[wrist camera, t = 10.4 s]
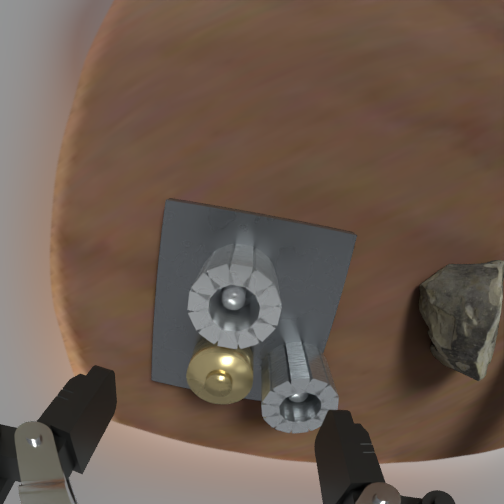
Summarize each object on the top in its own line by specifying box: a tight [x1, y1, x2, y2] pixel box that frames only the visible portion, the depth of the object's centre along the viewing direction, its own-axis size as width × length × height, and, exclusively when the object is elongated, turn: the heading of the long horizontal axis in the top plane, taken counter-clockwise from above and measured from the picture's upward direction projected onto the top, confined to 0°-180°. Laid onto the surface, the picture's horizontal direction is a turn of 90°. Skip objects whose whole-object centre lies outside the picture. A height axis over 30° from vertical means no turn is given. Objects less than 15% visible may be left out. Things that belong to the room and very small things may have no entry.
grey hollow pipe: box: [261, 341, 339, 433], centre depth 23 cm, size 6×6×5 cm
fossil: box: [419, 260, 504, 381], centre depth 23 cm, size 11×9×10 cm
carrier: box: [152, 198, 357, 404], centre depth 23 cm, size 14×16×5 cm
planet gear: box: [187, 243, 282, 349], centre depth 21 cm, size 6×6×5 cm
